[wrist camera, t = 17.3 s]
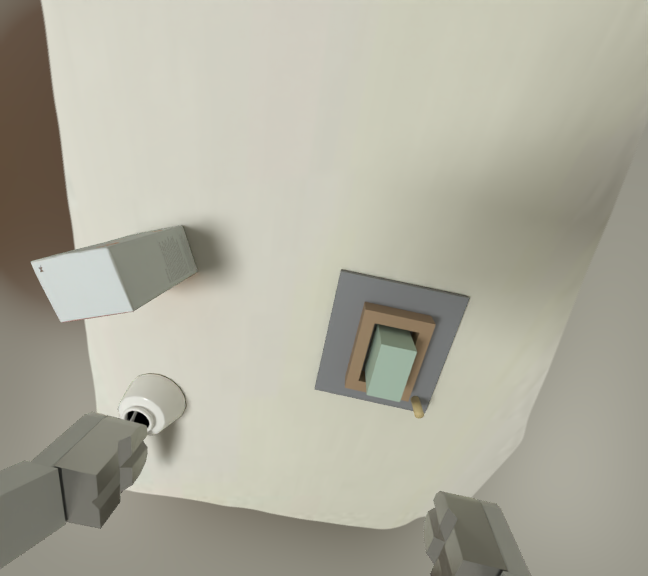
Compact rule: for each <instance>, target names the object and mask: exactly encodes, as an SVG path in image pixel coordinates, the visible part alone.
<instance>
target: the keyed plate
mask: <svg viewBox="0 0 648 576" xmlns="http://www.w3.org/2000/svg"><path fill="white" fill-rule="evenodd" d="M468 301H469V298H468V297H467V296H464V295H459V294H454V293H450V292H445V291H440V290H436V289H431V288H426V287H421V286H417V285H412V284H407V283H403V282H398V281H393V280H389V279H384V278H379V277H374V276H370V275H365V274H360V273H356V272H351V271H346V270H341V273H340V277H339V282H338V286H337V291H336V295H335V300H334V304H333V309H332V313H331V318H330V322H329V327H328V331H327V336H326V340H325V345H324V349H323V354H322V358H321V362H320V367H319V371H318V376H317V380H316V385H315V390H320V391H324V392H329V393H334V394H338V395H343V396H347V397H352V398H356V399H361V400H365V401H370V402H374V403H379V404H384V405H388V406H393V407H397V408H402V409H406V410H411V411H414V415H415V417H416V418H422V417H423V416H424V414H425V412H426V409H427V406H428V404H429V401H430V399H431V396H432V394H433V391H434V388H435V386H436V383H437V381H438V378H439V375H440V373H441V370H442V368H443V365H444V363H445V360H446V357H447V355H448V352H449V350H450V347H451V345H452V342H453V339H454V337H455V334H456V332H457V329H458V326H459V324H460V321H461V319H462V316H463V314H464V311H465V308H466V306H467V303H468ZM376 324H381V325H385V326H390V327H395V328H399V329H404V330H409V331H410V334H411V337H412V339H413V342H414V345H415V347H416V350H417V354H416V357H415V359H414V362H413V365H412V368H411V371H410V374H409V377H408V380H407V383H406V386H405V389H404V392H403V394H402V397H401V400H400V402H397V401H392V400H387V399H383V398H378V397H374V396H369V395H367V394H366V377H365V364H366V360H367V356H368V353H369V349H370V346H371V342H372V339H373V335H374V331H375V328H376Z"/></svg>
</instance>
